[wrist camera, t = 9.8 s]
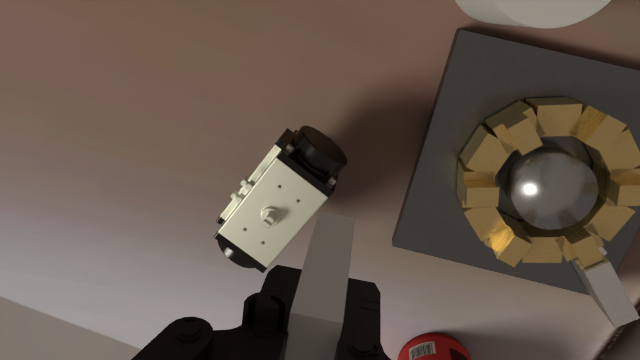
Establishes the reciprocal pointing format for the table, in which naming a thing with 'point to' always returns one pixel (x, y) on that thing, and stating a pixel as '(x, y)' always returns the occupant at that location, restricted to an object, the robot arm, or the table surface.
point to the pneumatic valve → (279, 197)
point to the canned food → (433, 348)
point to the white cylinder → (531, 11)
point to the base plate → (514, 153)
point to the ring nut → (578, 239)
